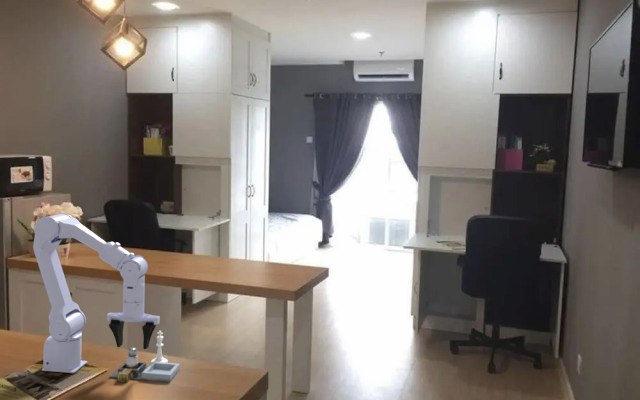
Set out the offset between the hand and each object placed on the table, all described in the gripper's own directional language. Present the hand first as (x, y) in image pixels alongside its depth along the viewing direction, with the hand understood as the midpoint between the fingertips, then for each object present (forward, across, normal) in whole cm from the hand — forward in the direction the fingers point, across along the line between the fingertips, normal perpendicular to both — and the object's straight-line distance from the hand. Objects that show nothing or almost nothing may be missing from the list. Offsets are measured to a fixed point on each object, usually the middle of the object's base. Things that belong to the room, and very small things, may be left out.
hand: (132, 346), depth 155 cm
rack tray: (+8, +8, 0) cm, 11 cm away
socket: (+8, 0, 0) cm, 8 cm away
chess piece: (+8, +5, +8) cm, 12 cm away
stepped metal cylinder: (+8, 0, 0) cm, 8 cm away
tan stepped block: (+8, 0, -4) cm, 9 cm away
